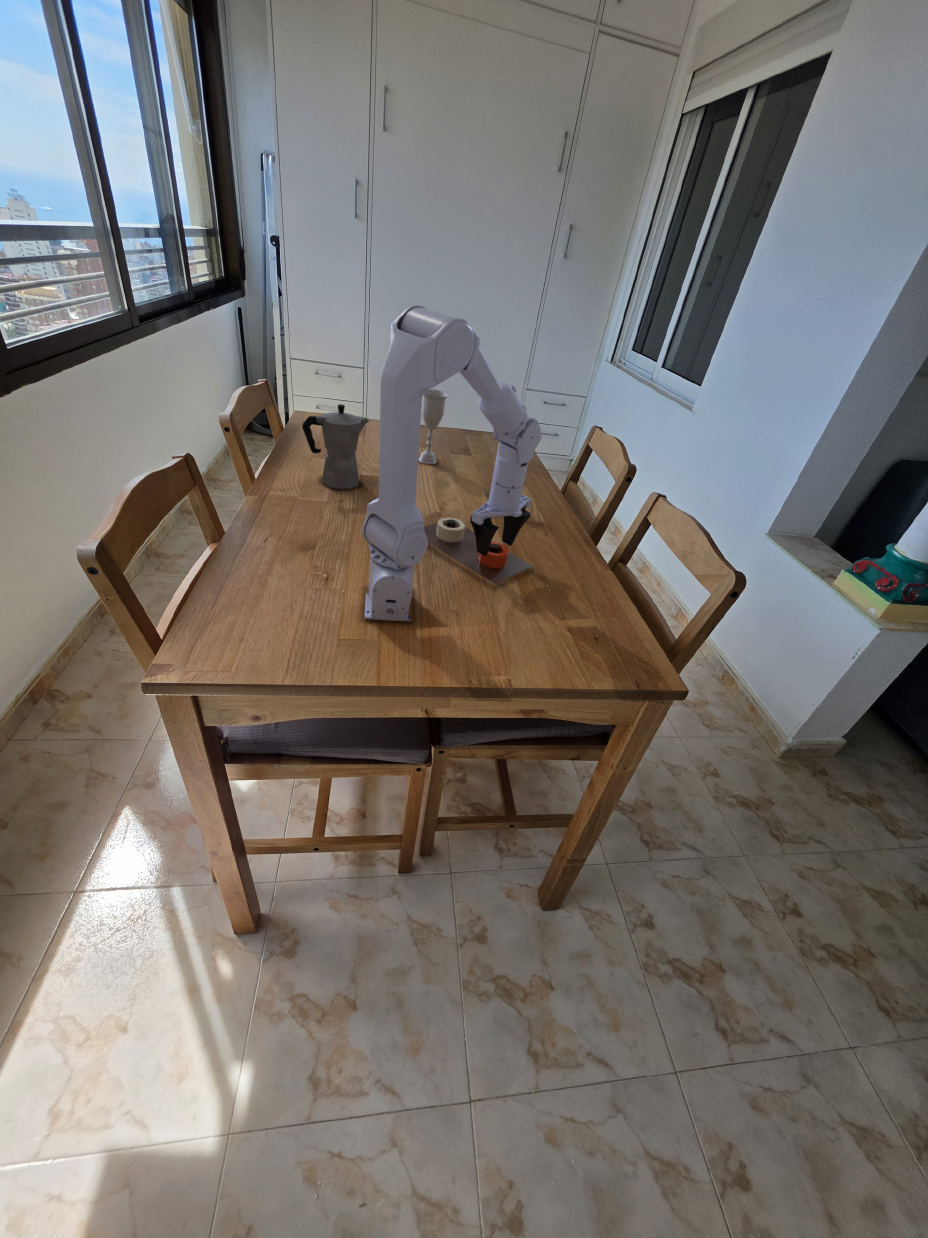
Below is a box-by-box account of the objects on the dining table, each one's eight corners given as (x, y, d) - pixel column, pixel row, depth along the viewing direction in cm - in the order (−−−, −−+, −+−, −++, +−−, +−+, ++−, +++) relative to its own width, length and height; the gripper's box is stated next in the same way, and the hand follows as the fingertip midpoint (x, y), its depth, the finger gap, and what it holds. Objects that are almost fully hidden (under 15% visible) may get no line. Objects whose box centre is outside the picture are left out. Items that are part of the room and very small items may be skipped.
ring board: (532, 570, 107) (537, 550, 105) (493, 588, 100) (498, 568, 97) (449, 522, 119) (451, 503, 117) (408, 535, 112) (410, 515, 109)
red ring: (509, 567, 105) (512, 555, 103) (483, 568, 103) (485, 555, 101) (500, 553, 109) (503, 541, 107) (474, 553, 107) (476, 541, 105)
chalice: (411, 456, 150) (417, 388, 139) (433, 455, 152) (441, 389, 142) (420, 465, 145) (427, 396, 134) (443, 465, 147) (452, 397, 137)
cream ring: (466, 542, 111) (468, 530, 109) (440, 542, 109) (441, 530, 107) (458, 529, 115) (460, 517, 113) (433, 529, 113) (435, 517, 111)
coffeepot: (359, 472, 135) (361, 398, 124) (374, 487, 129) (377, 410, 118) (298, 476, 127) (294, 398, 117) (310, 493, 121) (308, 411, 111)
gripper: (498, 498, 90) (485, 567, 98) (549, 482, 99) (533, 547, 107) (468, 483, 93) (457, 551, 101) (519, 469, 102) (506, 532, 110)
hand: (494, 548), depth 104 cm, fingers open, 7 cm apart
